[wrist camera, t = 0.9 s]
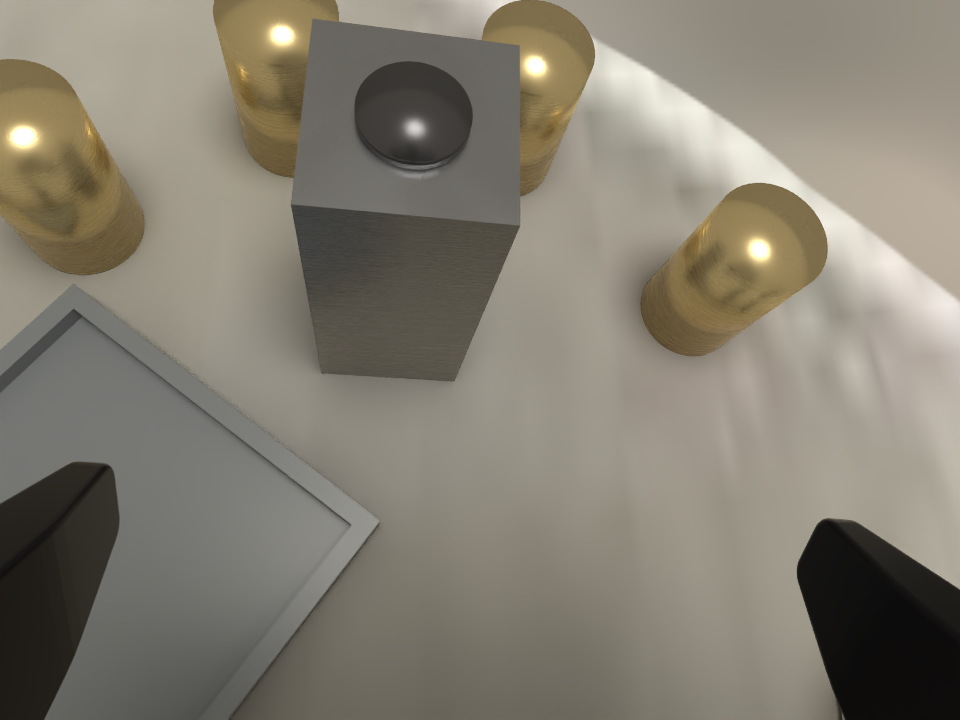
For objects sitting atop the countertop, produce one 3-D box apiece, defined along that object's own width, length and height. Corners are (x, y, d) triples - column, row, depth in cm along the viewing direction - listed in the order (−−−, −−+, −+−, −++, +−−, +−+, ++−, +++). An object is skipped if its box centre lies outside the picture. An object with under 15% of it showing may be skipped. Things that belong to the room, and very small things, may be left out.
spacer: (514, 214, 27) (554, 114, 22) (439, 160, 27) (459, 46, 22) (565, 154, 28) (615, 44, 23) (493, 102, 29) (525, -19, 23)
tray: (84, 907, 19) (66, 927, 17) (-258, 617, 19) (-296, 618, 18) (379, 524, 23) (380, 520, 22) (87, 298, 24) (73, 283, 22)
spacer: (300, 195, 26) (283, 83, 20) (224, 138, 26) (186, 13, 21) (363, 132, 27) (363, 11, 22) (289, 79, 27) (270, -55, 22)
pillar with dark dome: (454, 381, 25) (523, 218, 14) (321, 373, 24) (289, 196, 13) (457, 263, 26) (522, 35, 16) (332, 253, 25) (311, 7, 15)
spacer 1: (88, 295, 24) (2, 200, 18) (5, 231, 24) (-104, 119, 18) (167, 221, 25) (110, 112, 19) (88, 162, 25) (9, 36, 19)
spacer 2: (702, 374, 26) (795, 314, 21) (623, 316, 26) (693, 241, 21) (747, 305, 27) (846, 229, 22) (670, 250, 28) (749, 161, 22)
